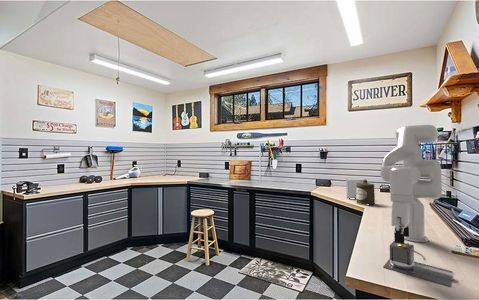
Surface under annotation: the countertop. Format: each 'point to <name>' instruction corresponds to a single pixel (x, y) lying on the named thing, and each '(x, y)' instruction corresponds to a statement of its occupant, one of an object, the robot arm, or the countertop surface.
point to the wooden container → (365, 193)
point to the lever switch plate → (422, 271)
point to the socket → (401, 252)
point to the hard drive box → (352, 187)
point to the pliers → (419, 253)
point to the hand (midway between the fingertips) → (401, 239)
